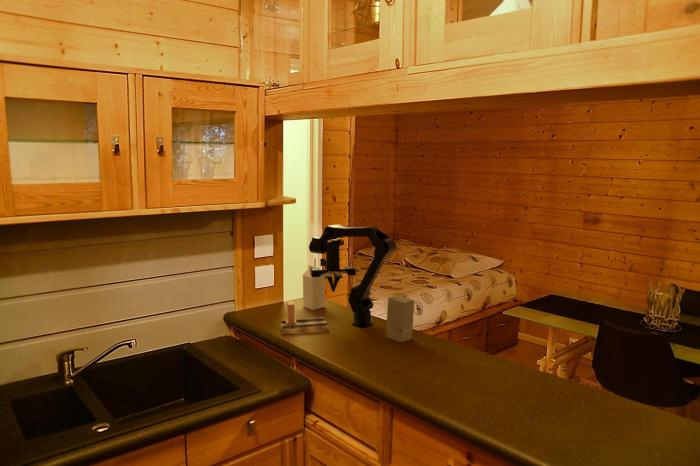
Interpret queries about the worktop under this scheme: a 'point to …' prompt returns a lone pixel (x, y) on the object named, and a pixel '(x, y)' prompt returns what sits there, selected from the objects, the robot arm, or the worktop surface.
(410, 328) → the skincare box
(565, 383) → the worktop surface
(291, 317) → the fader tab
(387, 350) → the worktop surface
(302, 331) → the slider board
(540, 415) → the worktop surface
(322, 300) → the milk carton
